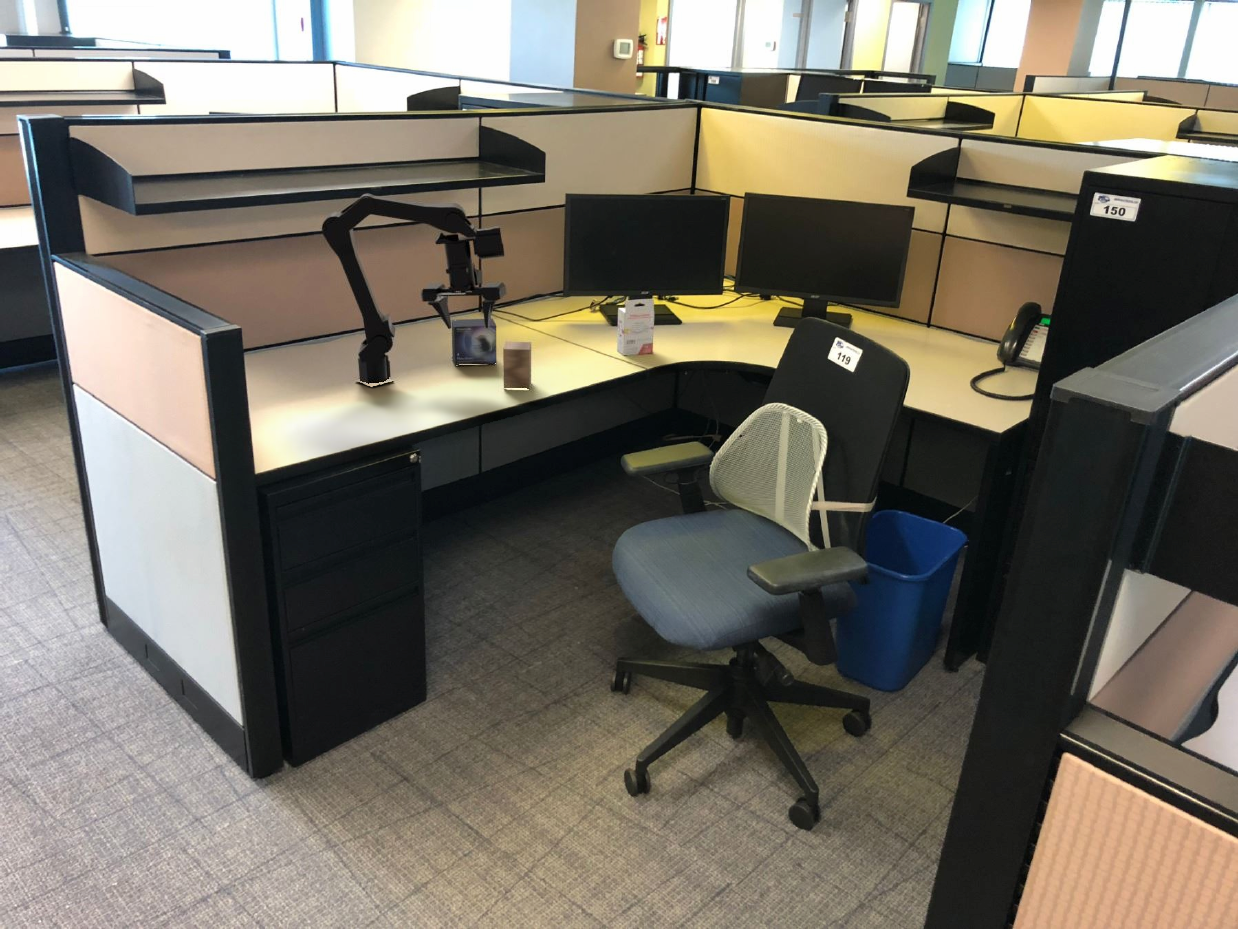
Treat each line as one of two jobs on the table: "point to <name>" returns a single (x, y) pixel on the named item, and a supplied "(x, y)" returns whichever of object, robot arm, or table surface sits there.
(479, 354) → the small box
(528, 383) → the walnut block
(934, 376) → the table surface
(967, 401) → the table surface
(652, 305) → the ink cartridge box
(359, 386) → the table surface
